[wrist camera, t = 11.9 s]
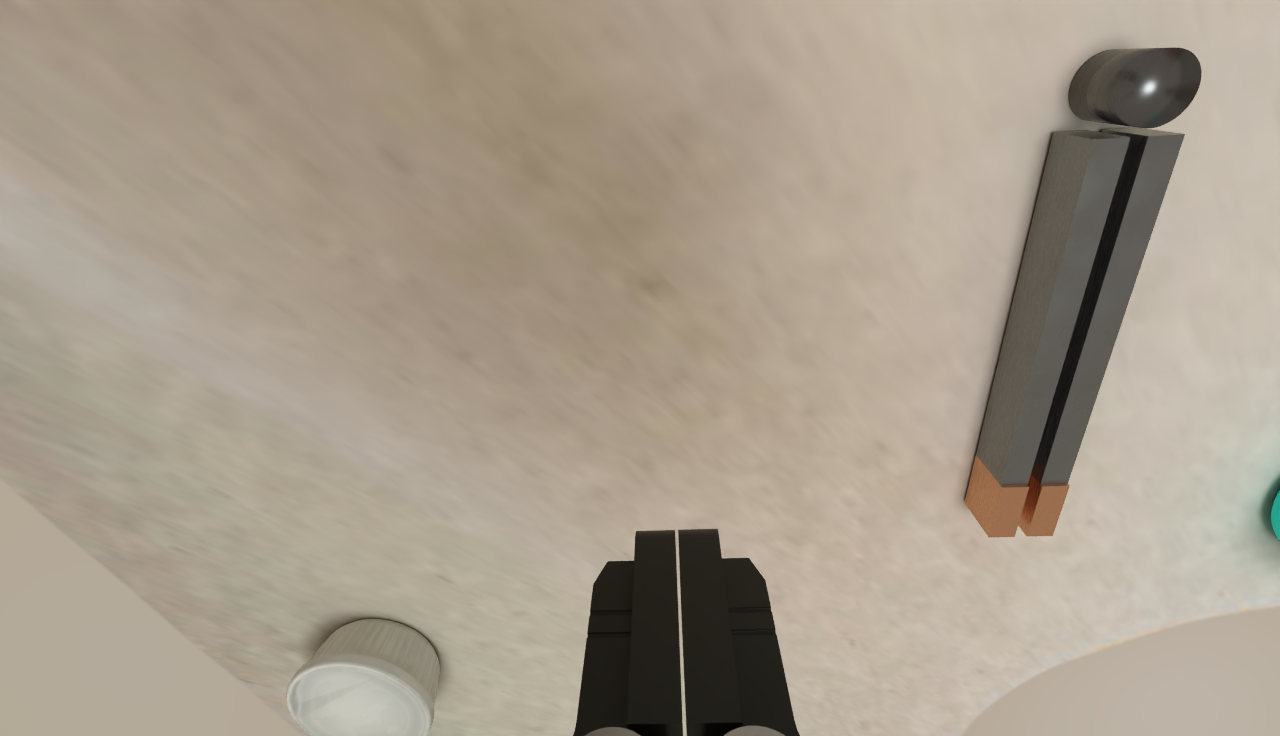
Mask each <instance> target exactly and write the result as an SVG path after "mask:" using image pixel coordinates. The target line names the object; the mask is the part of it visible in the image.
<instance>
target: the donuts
mask: <svg viewBox="0 0 1280 736" xmlns="http://www.w3.org/2000/svg"><path fill="white" fill-rule="evenodd" d="M1271 523H1272V527H1273V530H1274V533H1275V535H1276V537H1277V538H1278V539H1279V541H1280V490H1279V492H1278V494H1277V496H1276V498H1275V500H1274V503H1273V507H1272V511H1271Z"/></svg>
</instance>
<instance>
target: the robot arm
mask: <svg viewBox="0 0 1280 736" xmlns="http://www.w3.org/2000/svg"><path fill="white" fill-rule="evenodd" d="M678 533H679V560H680V587H681V612H682V635H683V658H684V681H685V704H686V727H687V736H800V735H799V733H798V731H797V728H796V724H795V721H794V716H793V712H792V707H791V702H790V697H789V692H788V688H787V683H786V678H785V673H784V668H783V664H782V659H781V654H780V649H779V644H778V639H777V635H776V633H775V625H774V620H773V615H772V612H771V606H770V601H769V596H768V591H767V587H766V582H765V579H764V578H763V577H762V575H761V574H760V573H759V571H758V570H757V569H756V567H755V566H754V564H753V563H752V562H751V560H750V559H749V558H726V559H722V557H721V549H720V542H719V534H718V529H694V530H678ZM573 736H683V726H682V700H681V673H680V647H679V620H678V594H677V570H676V545H675V530H663V531H636V536H635V557H634V561H608V562H607V563H606V565H605V567H604V568H603V570H602V571H601V573H600V575H599V576H598V578H597V579H596V581H595V583H594V584H593V592H592V601H591V609H590V617H589V625H588V638H587V641H586V649H585V658H584V666H583V674H582V682H581V690H580V698H579V707H578V715H577V723H576V728H575V732H574V735H573Z"/></svg>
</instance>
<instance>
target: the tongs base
mask: <svg viewBox="0 0 1280 736" xmlns="http://www.w3.org/2000/svg"><path fill="white" fill-rule="evenodd" d="M1200 81H1201V66H1200V63H1199V61H1198V59H1197V57H1196V56H1195V55H1194V54H1193V53H1192V52H1190V51H1188V50H1186V49H1183V48H1148V49H1113V50H1107V51H1103V52H1101V53H1098V54H1097V55H1095V56H1093V57H1092V58H1090V59H1089V60H1088V61H1086V62H1085V63H1084V64H1083V65H1082V66H1081V68H1080V69H1079V70H1078V72H1077V73H1076V75H1075V76H1074V78H1073V80H1072V83H1071V86H1070V90H1069V104H1070V107H1071V109H1072V111H1073V112H1074V114H1075V115H1076V116H1078V117H1079V118H1081V119H1084V120H1088V121H1095V122H1102V123H1109V124H1117V125H1124V126H1131V127H1133V128H1115V129H1102V132H1101V133H1107V134H1113V135H1119V136H1126V137H1130V141H1129V144H1128V148H1127V151H1126V154H1125V158H1124V161H1123V164H1122V168H1121V171H1120V175H1119V178H1118V181H1117V185H1116V188H1115V191H1114V195H1113V198H1112V202H1111V205H1110V208H1109V212H1108V215H1107V218H1106V222H1105V225H1104V229H1103V232H1102V235H1101V239H1100V242H1099V245H1098V249H1097V252H1096V256H1095V259H1094V262H1093V266H1092V269H1091V272H1090V276H1089V279H1088V283H1087V286H1086V289H1085V293H1084V296H1083V299H1082V303H1081V306H1080V310H1079V313H1078V316H1077V320H1076V323H1075V326H1074V330H1073V333H1072V337H1071V340H1070V343H1069V347H1068V350H1067V353H1066V357H1065V360H1064V364H1063V367H1062V370H1061V374H1060V377H1059V380H1058V384H1057V387H1056V391H1055V394H1054V397H1053V401H1052V404H1051V407H1050V411H1049V414H1048V418H1047V421H1046V424H1045V428H1044V431H1043V434H1042V438H1041V441H1040V444H1039V448H1038V451H1037V455H1036V458H1035V461H1034V465H1033V468H1032V471H1031V475H1030V478H1029V482H1028V486H1029V490H1028V493H1027V496H1026V500H1025V503H1024V507H1023V510H1022V513H1021V517H1020V520H1019V523H1018V526H1019V527H1020V528H1021V530H1022V531H1023V532H1024V533H1025V535H1026V536H1053V533H1054V530H1055V527H1056V524H1057V521H1058V518H1059V515H1060V512H1061V510H1062V507H1063V504H1064V501H1065V498H1066V495H1067V492H1068V489H1069V485H1068V481H1069V478H1070V475H1071V472H1072V469H1073V466H1074V463H1075V460H1076V457H1077V454H1078V451H1079V448H1080V445H1081V442H1082V439H1083V436H1084V433H1085V430H1086V427H1087V424H1088V421H1089V418H1090V415H1091V412H1092V409H1093V406H1094V403H1095V400H1096V397H1097V394H1098V391H1099V389H1100V386H1101V383H1102V380H1103V377H1104V374H1105V371H1106V368H1107V365H1108V362H1109V359H1110V356H1111V353H1112V350H1113V347H1114V344H1115V341H1116V338H1117V335H1118V332H1119V329H1120V326H1121V323H1122V320H1123V317H1124V314H1125V311H1126V308H1127V305H1128V302H1129V299H1130V296H1131V293H1132V290H1133V287H1134V284H1135V281H1136V278H1137V275H1138V272H1139V269H1140V266H1141V263H1142V260H1143V258H1144V255H1145V252H1146V249H1147V246H1148V243H1149V240H1150V237H1151V234H1152V231H1153V228H1154V225H1155V222H1156V219H1157V216H1158V213H1159V210H1160V207H1161V204H1162V201H1163V198H1164V195H1165V192H1166V189H1167V186H1168V183H1169V180H1170V177H1171V174H1172V171H1173V168H1174V165H1175V162H1176V159H1177V156H1178V153H1179V150H1180V147H1181V144H1182V141H1183V138H1184V135H1185V134H1180V133H1173V132H1165V131H1158V130H1151V129H1143V128H1154V127H1158V126H1161V125H1164V124H1166V123H1168V122H1170V121H1172V120H1173V119H1175V118H1176V117H1177V116H1179V115H1180V114H1181V113H1182V112H1183V111H1184V110H1185V109H1186V108H1187V107H1188V106H1189V104H1190V103H1191V102H1192V100H1193V98H1194V97H1195V95H1196V93H1197V91H1198V88H1199V85H1200ZM1136 127H1139V128H1136Z"/></svg>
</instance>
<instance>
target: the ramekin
mask: <svg viewBox="0 0 1280 736" xmlns="http://www.w3.org/2000/svg"><path fill="white" fill-rule="evenodd" d="M439 676H440V665H439V660H438V657H437V655H436V653H435V650H434V649H433V647H432V645H431V644H430V643H429V641H428V640H427V639H426V638H425V637H423V636H422V635H421V634H420V633H418V632H416V631H415V630H414V629H412V628H410V627H408V626H405V625H403V624H400V623H397V622H394V621H389V620H383V619H364V620H359V621H355V622H352V623H349V624H347V625H344V626H343V627H341V628H339V629H337V630H336V631H335V632H333V633H332V634H331V635H330V636H329V638H328V639H327V640H326V641H325V642H324V643H323V644H322V646H321V647H320V648H319V649H318V650H317V652H316V653H315V654H314V655H313V656H312V658H311V659H310V660H309V661H308V662H307V663H306V664H304V665H303V666H302V667H301V668H300V669H299V670H298V671H297V672H296V674H295V675H294V677H293V678H292V680H291V682H290V684H289V686H288V690H287V695H286V699H287V706H288V709H289V711H290V713H291V715H292V717H293V718H294V720H295V721H296V722H297V723H298V725H299V726H300V727H301V728H302V729H304V730H305V731H306V732H307V733H308V734H309V735H311V736H427V735H428V733H429V731H430V728H431V725H432V722H433V718H434V703H435V698H436V692H437V687H438V682H439Z"/></svg>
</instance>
